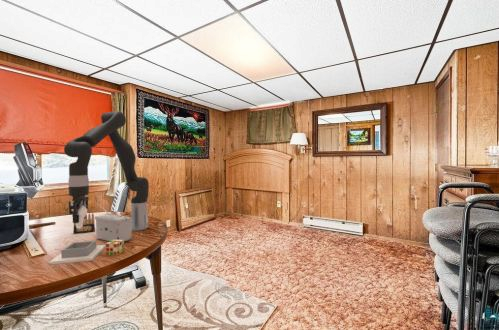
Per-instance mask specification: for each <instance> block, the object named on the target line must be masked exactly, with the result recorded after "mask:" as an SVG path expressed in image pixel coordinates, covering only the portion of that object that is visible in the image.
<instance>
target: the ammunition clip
mask: <svg viewBox="0 0 499 330" xmlns="http://www.w3.org/2000/svg"><path fill="white" fill-rule="evenodd" d="M95 225H96V224H95V214H94V212H92V213H90V212H88V213H87V214H86V218H85V219H84V222H83V227H82V228H80V229H78V228H76V224H75V223H73V231H72V232H73V233H72V234H73V235H78V234H79V235H80V234H87V233H96V226H95Z"/></svg>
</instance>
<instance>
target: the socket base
mask: <svg viewBox="0 0 499 330" xmlns="http://www.w3.org/2000/svg"><path fill="white" fill-rule="evenodd" d="M104 249H106V244H102V245H101V244H100V245H99V244H98V245H97V240H89V241H74V242H71V243H70V244H68V245H66V247H64V248H63V249H61V252H60V254H58V255H56V256H55V257H54V258H53V259H51V260H50V261H48V262H49V265H61V264H71V263H81V262H91V261H94V259H96V257H97V256H99V255H100V254H101V252H102V251H103V250H104Z"/></svg>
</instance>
